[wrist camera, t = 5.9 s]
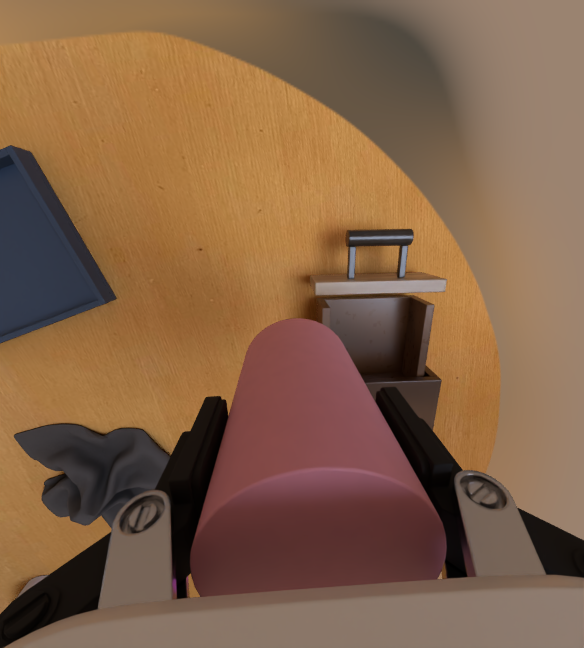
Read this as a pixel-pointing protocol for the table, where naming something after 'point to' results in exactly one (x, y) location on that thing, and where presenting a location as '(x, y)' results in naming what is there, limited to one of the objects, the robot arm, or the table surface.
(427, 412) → the cabinet
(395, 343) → the drawer
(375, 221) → the table surface
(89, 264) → the tray
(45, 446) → the cloth
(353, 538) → the cylinder
